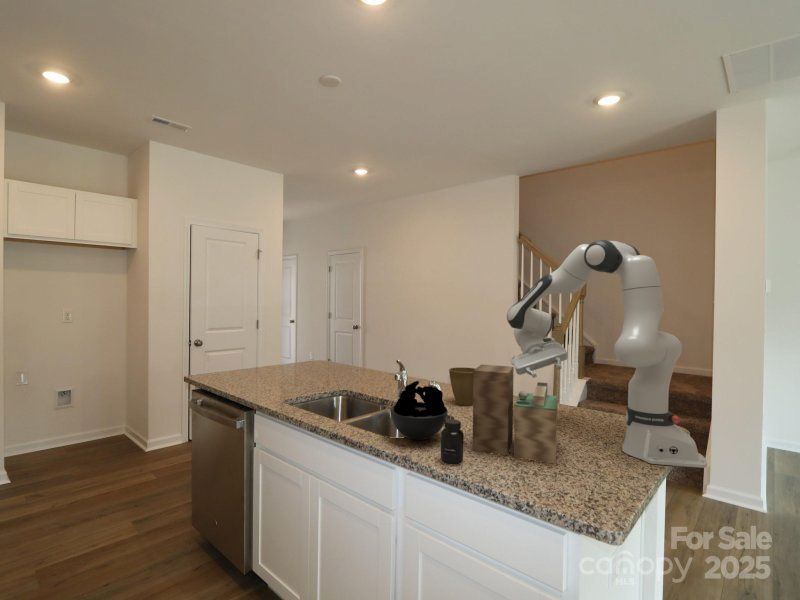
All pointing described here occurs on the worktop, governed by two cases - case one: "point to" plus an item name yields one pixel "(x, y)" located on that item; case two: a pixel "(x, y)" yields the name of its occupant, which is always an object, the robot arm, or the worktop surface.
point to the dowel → (540, 395)
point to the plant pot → (462, 385)
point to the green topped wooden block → (535, 428)
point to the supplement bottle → (452, 442)
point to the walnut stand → (493, 409)
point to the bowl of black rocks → (419, 412)
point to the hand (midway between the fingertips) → (547, 372)
